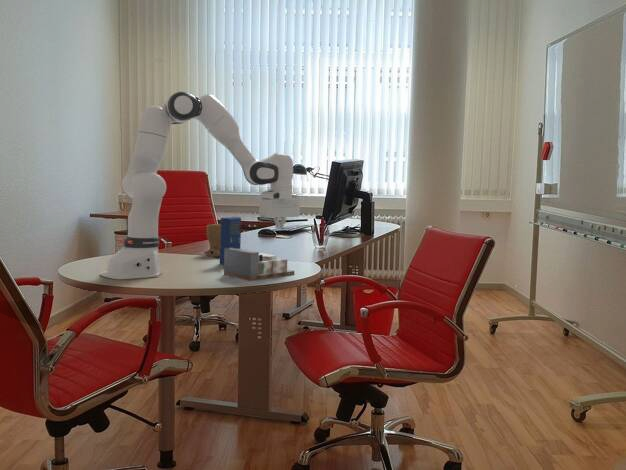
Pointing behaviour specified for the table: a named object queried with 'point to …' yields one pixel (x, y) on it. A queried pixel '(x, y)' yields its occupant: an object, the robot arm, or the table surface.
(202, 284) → the table surface
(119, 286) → the table surface
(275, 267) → the gauge base
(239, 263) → the grey rectangular block
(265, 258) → the plunger
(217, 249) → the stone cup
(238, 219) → the electronic device
